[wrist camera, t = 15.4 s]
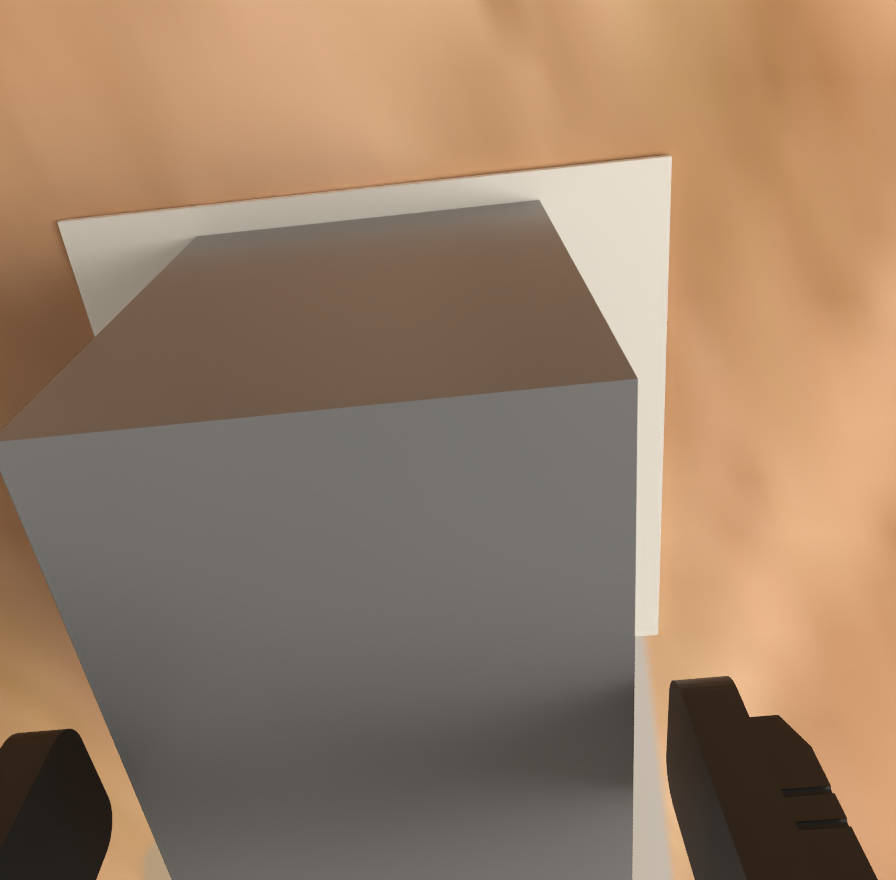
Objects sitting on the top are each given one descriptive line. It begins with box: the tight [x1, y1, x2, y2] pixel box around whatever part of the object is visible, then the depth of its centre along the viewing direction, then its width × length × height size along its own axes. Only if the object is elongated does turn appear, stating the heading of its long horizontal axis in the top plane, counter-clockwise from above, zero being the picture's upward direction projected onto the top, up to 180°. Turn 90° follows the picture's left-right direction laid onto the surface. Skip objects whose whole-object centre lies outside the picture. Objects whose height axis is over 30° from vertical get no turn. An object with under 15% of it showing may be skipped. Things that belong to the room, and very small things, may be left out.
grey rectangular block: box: [0, 200, 638, 880], centre depth 15 cm, size 11×7×9 cm, turn 6°
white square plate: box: [57, 155, 672, 637], centre depth 19 cm, size 12×12×1 cm
